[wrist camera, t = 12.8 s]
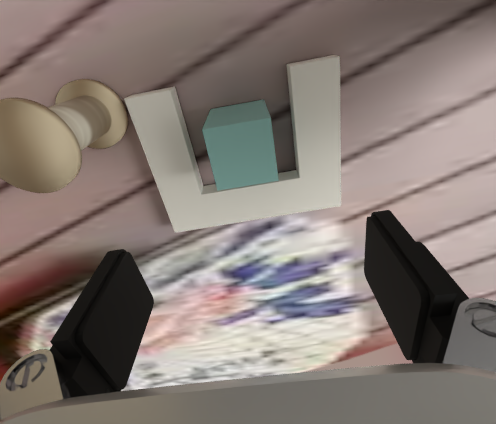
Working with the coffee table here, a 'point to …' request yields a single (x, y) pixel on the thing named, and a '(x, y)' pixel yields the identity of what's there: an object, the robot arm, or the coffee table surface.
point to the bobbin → (57, 134)
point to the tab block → (241, 145)
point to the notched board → (259, 195)
